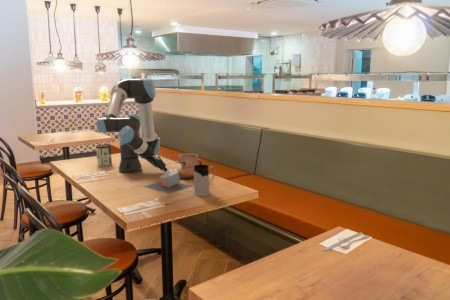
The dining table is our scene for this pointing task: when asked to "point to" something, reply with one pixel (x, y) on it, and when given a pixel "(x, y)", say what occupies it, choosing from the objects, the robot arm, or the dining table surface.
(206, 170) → the tall grey mug
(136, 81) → the robot arm
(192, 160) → the ceramic jug
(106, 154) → the coffee can
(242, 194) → the dining table surface
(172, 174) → the block
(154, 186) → the mat
